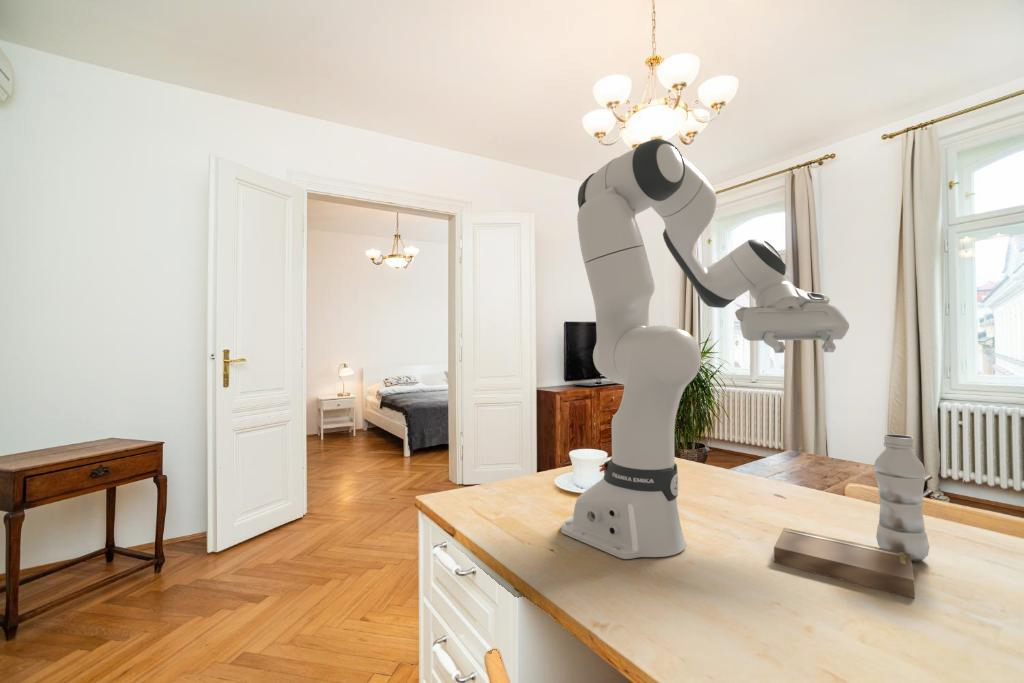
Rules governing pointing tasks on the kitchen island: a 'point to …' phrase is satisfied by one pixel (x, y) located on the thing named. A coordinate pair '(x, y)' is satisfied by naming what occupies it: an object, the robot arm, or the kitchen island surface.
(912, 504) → the plastic bottle
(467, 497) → the kitchen island surface
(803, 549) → the walnut board
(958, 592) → the kitchen island surface
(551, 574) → the kitchen island surface
